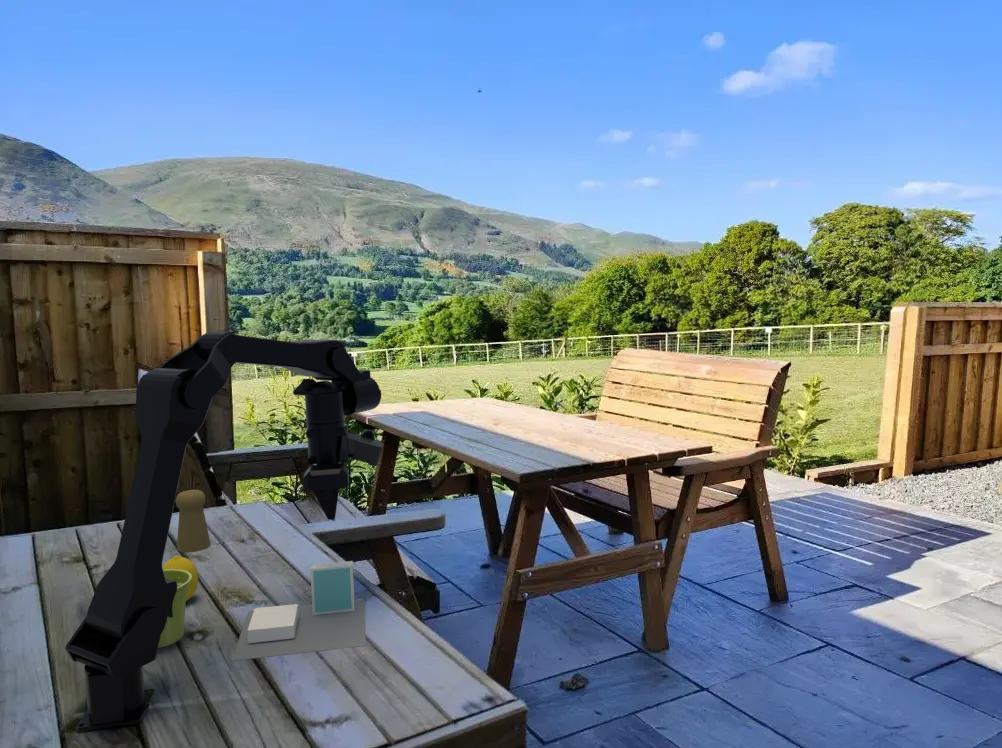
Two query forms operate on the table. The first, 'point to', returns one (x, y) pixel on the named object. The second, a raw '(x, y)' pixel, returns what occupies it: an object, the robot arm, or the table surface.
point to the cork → (192, 522)
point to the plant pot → (176, 607)
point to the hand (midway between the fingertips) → (331, 518)
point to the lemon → (188, 566)
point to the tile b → (332, 587)
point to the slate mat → (309, 634)
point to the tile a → (273, 623)
